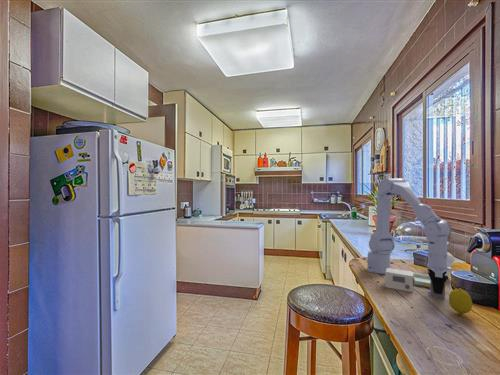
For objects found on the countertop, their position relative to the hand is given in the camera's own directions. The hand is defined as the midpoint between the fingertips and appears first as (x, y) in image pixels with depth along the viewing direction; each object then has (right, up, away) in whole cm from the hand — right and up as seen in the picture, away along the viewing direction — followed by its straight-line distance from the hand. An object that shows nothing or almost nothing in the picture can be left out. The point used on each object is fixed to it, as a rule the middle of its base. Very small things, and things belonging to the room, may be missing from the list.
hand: (437, 291), depth 91 cm
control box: (-9, -1, +8) cm, 12 cm away
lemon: (-3, -2, -14) cm, 14 cm away
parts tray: (+4, -1, +12) cm, 12 cm away
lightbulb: (+17, -2, +18) cm, 25 cm away
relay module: (0, -1, 0) cm, 1 cm away
